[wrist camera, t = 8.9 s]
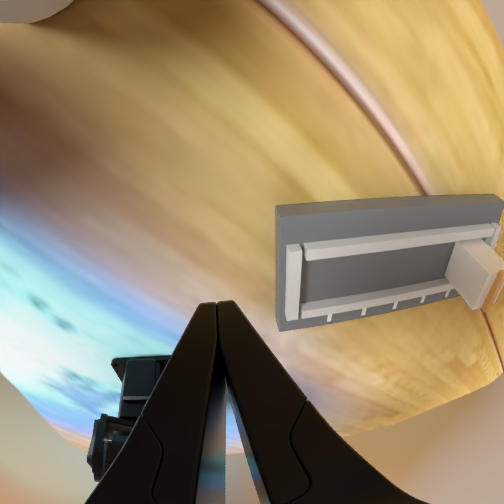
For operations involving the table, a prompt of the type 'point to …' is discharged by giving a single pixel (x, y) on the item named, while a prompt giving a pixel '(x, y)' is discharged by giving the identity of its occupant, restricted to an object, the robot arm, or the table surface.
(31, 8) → the can
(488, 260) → the fader knob
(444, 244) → the fader console
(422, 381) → the table surface
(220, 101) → the table surface
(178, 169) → the table surface
